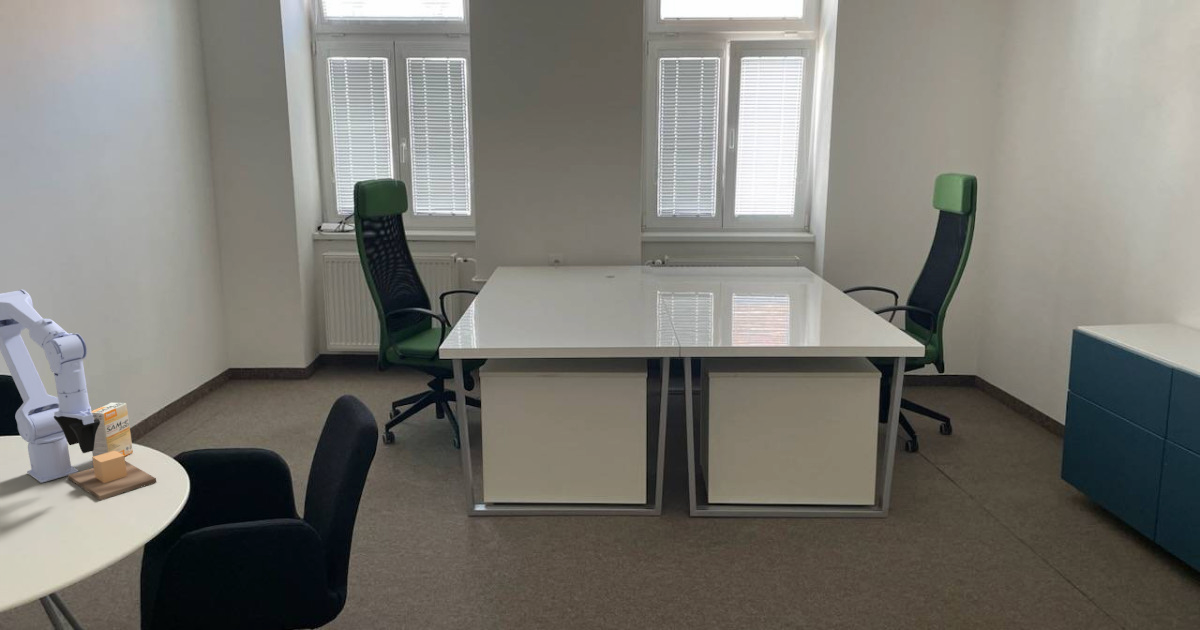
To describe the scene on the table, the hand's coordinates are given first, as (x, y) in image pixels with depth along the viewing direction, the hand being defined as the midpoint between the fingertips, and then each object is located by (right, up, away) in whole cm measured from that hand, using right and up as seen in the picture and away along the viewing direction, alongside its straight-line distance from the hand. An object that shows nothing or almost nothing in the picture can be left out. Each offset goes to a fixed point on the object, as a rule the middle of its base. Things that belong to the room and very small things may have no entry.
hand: (81, 447), depth 200 cm
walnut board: (+4, -8, +5) cm, 11 cm away
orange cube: (+4, -7, +5) cm, 10 cm away
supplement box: (-3, -6, +19) cm, 20 cm away
